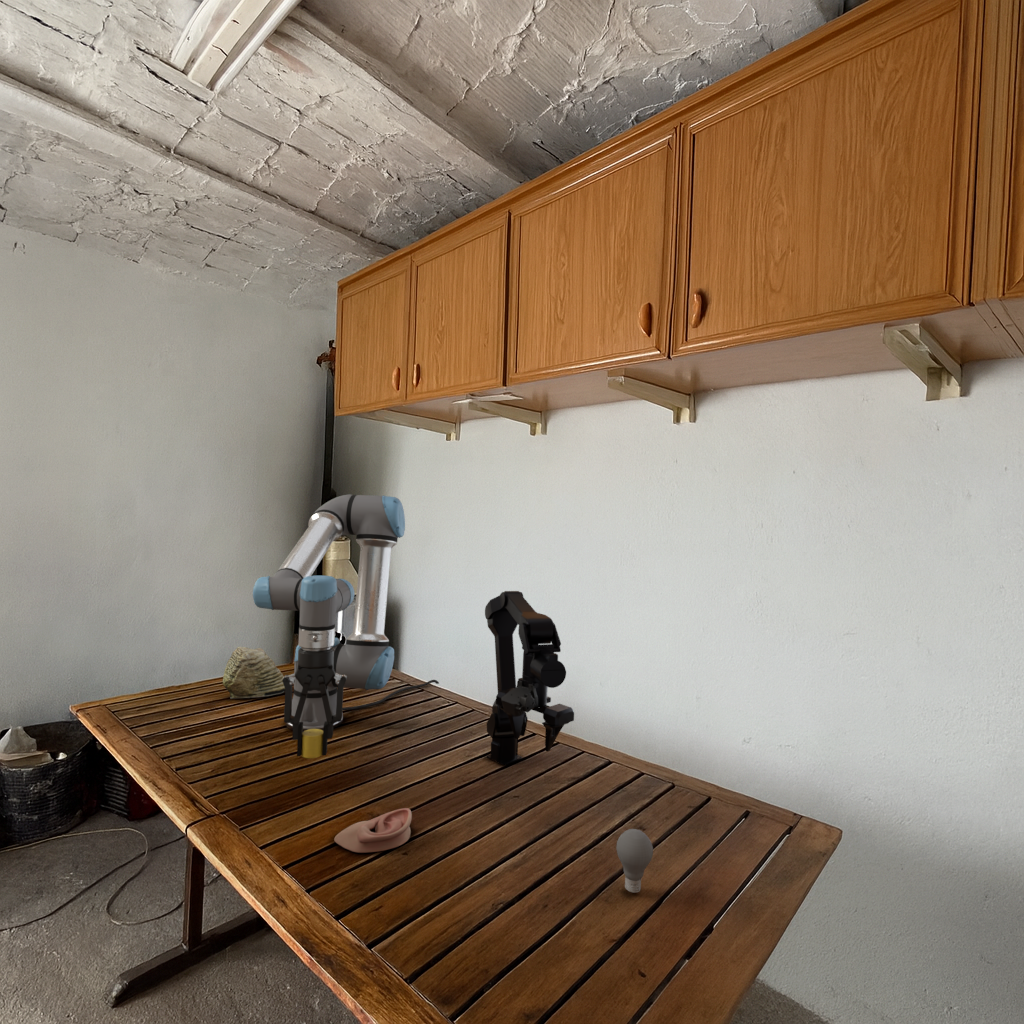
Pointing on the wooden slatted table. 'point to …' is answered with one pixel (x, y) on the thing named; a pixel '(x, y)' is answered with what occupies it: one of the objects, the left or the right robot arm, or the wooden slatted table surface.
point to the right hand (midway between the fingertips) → (532, 744)
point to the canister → (312, 743)
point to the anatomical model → (377, 832)
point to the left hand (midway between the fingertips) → (312, 753)
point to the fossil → (252, 674)
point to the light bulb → (634, 857)
